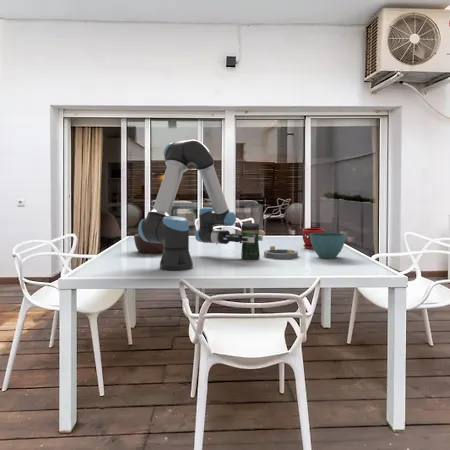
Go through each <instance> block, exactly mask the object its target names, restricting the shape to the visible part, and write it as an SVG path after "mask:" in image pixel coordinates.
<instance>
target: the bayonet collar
mask: <svg viewBox="0 0 450 450" xmlns="http://www.w3.org/2000/svg"><path fill="white" fill-rule="evenodd" d="M263 257H265V258H267V259H273V260H274V259H276V260H288V259H289V260H290V259H291V260H292V259H296V258H298V257H299V251H298V250H295V249H287V248H286V249H284V248H281V249H279V248H276V246H275V245H270V247H269V249H266V250H264V251H263Z"/></svg>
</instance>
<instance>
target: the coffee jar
mask: <svg viewBox="0 0 450 450" xmlns="http://www.w3.org/2000/svg"><path fill="white" fill-rule="evenodd" d="M240 233H241V234H242V237H254V243H250V242H242V243H241V252H240V253H241V259H242V260H251V261H253V260H259V259H260V258H261V257H260V256H261V255H260V246H259V245H260V244H259V241H258V235H260V227H259V223H255V222H247V223H245V222H244V223H242V224H241V227H240Z"/></svg>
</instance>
